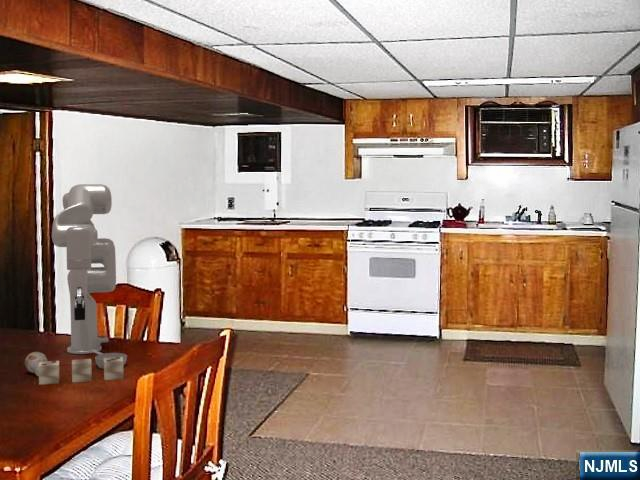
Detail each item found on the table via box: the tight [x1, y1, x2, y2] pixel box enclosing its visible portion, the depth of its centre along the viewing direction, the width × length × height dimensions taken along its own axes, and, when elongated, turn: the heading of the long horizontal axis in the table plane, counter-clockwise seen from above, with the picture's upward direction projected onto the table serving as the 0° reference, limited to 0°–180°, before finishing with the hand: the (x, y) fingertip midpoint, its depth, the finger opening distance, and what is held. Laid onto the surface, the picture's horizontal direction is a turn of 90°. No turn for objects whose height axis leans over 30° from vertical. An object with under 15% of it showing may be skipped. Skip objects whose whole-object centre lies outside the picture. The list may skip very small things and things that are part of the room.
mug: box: [24, 351, 48, 378], centre depth 256 cm, size 8×10×10 cm
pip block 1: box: [38, 360, 60, 386], centre depth 247 cm, size 6×6×6 cm
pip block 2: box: [103, 357, 125, 381], centre depth 252 cm, size 6×6×6 cm
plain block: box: [71, 358, 93, 383], centre depth 250 cm, size 6×6×6 cm
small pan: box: [91, 350, 128, 370], centre depth 270 cm, size 11×18×4 cm, turn 47°
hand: (79, 317), depth 248 cm, fingers open, 9 cm apart
